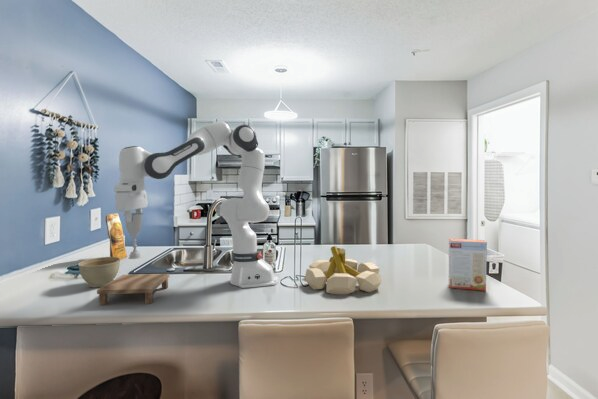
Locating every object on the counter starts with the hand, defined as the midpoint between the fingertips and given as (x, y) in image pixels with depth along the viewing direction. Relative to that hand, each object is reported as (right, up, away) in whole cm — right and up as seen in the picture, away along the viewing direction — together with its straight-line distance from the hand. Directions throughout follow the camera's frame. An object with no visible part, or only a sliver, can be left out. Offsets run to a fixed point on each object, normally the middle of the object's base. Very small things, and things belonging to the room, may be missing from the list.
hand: (133, 220), depth 130 cm
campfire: (+87, -30, +17) cm, 94 cm away
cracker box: (+140, -30, +9) cm, 143 cm away
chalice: (0, -15, +1) cm, 15 cm away
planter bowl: (-24, -31, +16) cm, 42 cm away
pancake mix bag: (-44, -28, +64) cm, 83 cm away
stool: (0, -31, +2) cm, 31 cm away
